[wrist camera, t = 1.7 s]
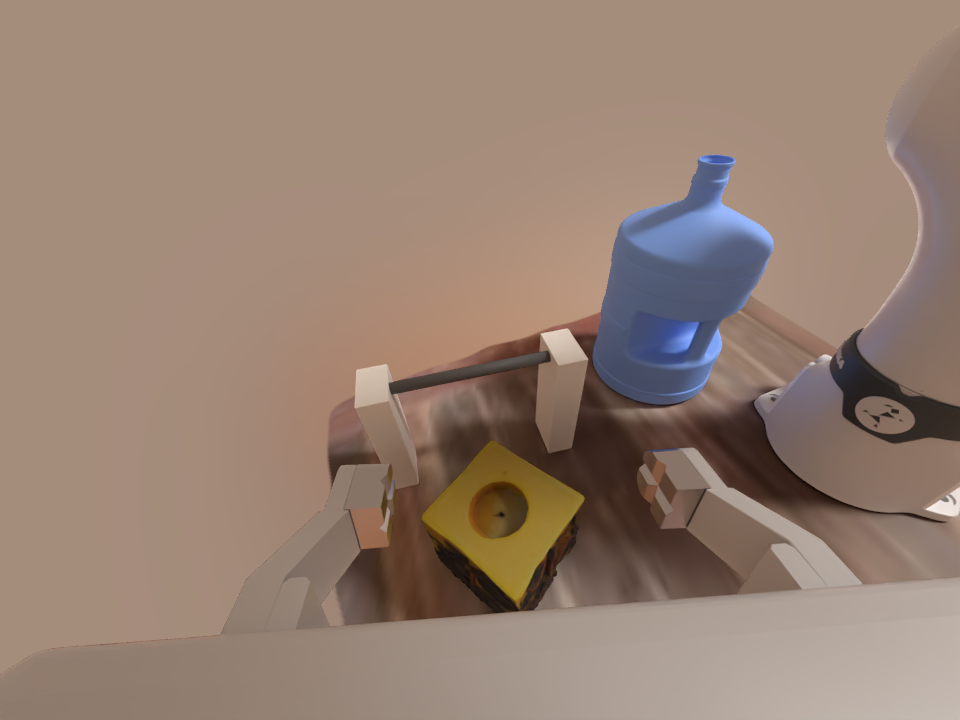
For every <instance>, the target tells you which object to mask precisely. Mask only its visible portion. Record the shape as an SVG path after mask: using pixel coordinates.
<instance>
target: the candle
mask: <svg viewBox="0 0 960 720" xmlns="http://www.w3.org/2000/svg"><path fill="white" fill-rule="evenodd" d="M584 500H585V498H584V496H583V495H582V494H580V493H579V492H577V491H575V490H574V489H572V488H570V487H568V486H567V485H565V484H563V483H562V482H560V481H558V480H557V479H555V478H553V477H552V476H550V475H548V474H546V473H545V472H543V471H541V470H540V469H538V468H536V467H535V466H533V465H531V464H530V463H528V462H527V461H525V460H524V459H522V458H520V457H519V456H517V455H516V454H514V453H512V452H511V451H509V450H508V449H506V448H505V447H503V446H502V445H501V444H499V443H497V442H495V441H493V440H491V441H490V442H489V443H488V444H487V445H486V446H485V447H484V448H483V449H482V450H481V451H480V452H479V453H478V455H477V456H476V457H475V458H474V459H473V460H472V462H471V463H470V464H469V465H468V466H467V467H466V469H465V470H464V471H463V472H462V473H461V474H460V475H459V476H458V477H457V478H456V479H455V480H454V481H453V482H452V484H451V485H450V486H448V487H447V488H446V489H445V490H444V491H443V492H442V494H441V495H440V496H439V497H438V498H437V499H436V500H435V501H434V502H433V503H432V504H431V505H430V506H429V508H428V509H427V510H426V511H425V512H424V513H423V515H422V521H423V524H424V526H425V528H426V530H427V532H428V534H429V535H430V537H431V538H432V541H433V543H434V545H435V550H436V553H437V555H438V558H439V559H440V560H441V562H443V563H444V564H445V565H446V566H447V567H448V568H449V569H451V570H452V572H453V574H454V575H455V576H456V577H457V578H460V579H461V580H462V582H463V583H464V584H466V585H467V587H468V588H470V590H471V591H473V592H474V594H475V595H476V596H477V597H479V598H480V599H481V601H482V602H485V603H486V604H487V605H488V606H489V607H491V608H492V609H493V610H494V611H495V613H508V612H521V611H533V610H534V609H535V608H536V607H537V606H538V603H539V602H540V601H541V600H542V598H543V596H544V594H545V592H546V590H547V589H548V588H549V586H550V585H551V583H552V582H553V577H555V576H556V575H557V571H556V566H557V564H558V563H559V562H560V561H561V560H562V559H563V558H564V556H566V555H567V554H568V553H570V550H571V549H572V548H573V546H574V544H575V543H576V535H577V531H578V526H577V522H576V517H577V512H578V511H579V510H580V508H581V506H582V504H583V502H584Z"/></svg>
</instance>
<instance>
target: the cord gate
mask: <svg viewBox="0 0 960 720" xmlns="http://www.w3.org/2000/svg"><path fill="white" fill-rule="evenodd" d="M538 364H539V370H538V386H537V403H536V420H535V422H536V424H537V427H538V429H539V431H540V434H541V436H542V439H543V441H544V443H545V446H546V448H547V451H548V453H553V452H557V451H561V450H565V449H569V448H572V444H573V439H574V434H575V428H576V423H577V418H578V412H579V407H580V402H581V396H582V391H583V386H584V380H585V375H586V370H587V364H588V358H587V357H586V355H585V353H584V352H583V350H582V349H581V347H580V346H579V344H578V343H577V341H576V340H575V338H574V337H573V335H572V334H571V332H570V331H569V329H568V328H567V329H562V330H557V331H552V332H547V333H542V334H541V336H540V352H537V353H532V354H527V355H523V356H518V357H513V358H508V359H503V360H498V361H493V362H488V363H483V364H478V365H473V366H468V367H463V368H458V369H454V370H449V371H444V372H439V373H434V374H429V375H424V376H419V377H414V378H409V379H404V380H399V381H394V382H393V380H392V377H391V374H390V371H389V369H388V366H387V364H385V365H380V366H374V367H369V368H364V369H359V370H356V391H355V410H356V412H357V414H358V416H359V418H360V420H361V422H362V425H363V427H364V429H365V431H366V433H367V435H368V437H369V439H370V441H371V443H372V445H373V448H374V450H375V452H376V454H377V456H378V458H379V460H380V462H381V464H392V469H393V475H392V480H393V481H395V486H396V489H401V488H405V487H409V486H413V485H417V484H419V476H418V466H417V457H416V448H415V445H414V442H413V439H412V436H411V433H410V430H409V427H408V424H407V422H406V419H405V416H404V413H403V410H402V407H401V404H400V401H399V398H398V395H397V394H398V393H403V392H407V391H412V390H417V389H422V388H427V387H432V386H436V385H441V384H446V383H451V382H456V381H461V380H465V379H470V378H475V377H480V376H485V375H490V374H494V373H499V372H504V371H509V370H514V369H519V368H523V367H528V366H533V365H538Z"/></svg>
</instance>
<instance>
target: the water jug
mask: <svg viewBox="0 0 960 720" xmlns="http://www.w3.org/2000/svg"><path fill="white" fill-rule="evenodd" d="M735 162H736V160H735V159H734V158H732V157H729V156H723V155H706V156H702V157H700V158H699V159H698V168H697V171H696V174H695V175H694V176H693V178H692V181H691V182H692V184H691V188H690V191H689V194H688V196H687V197H686V198H685V199H684V200H681V201H677V202H673V203H669V204H665V205H661V206H657V207H653V208H649V209H645V210H642V211H639V212H636V213H634V214H632V215H630V216H629V217H627V218H626V219H625V220H624V221H623V222H622V223H621V225H620V227H619V230H618V235H617V238H616V240H615V243H614V248H613V253H612V264H611V269H610V274H609V279H608V284H607V289H606V294H605V296H604V300H603V303H602V309H601V319H600V324H599V329H598V335H597V340H596V342H595V345H594V349H593V356H592V358H593V365H594V368H595V370H596V372H597V374H598V375H599V377H600V378H601V379H602V380H603V381H604V382H605V383H606V384H607V385H608V386H609V387H610V388H612V389H613V390H615V391H616V392H618V393H620V394H621V395H623V396H626V397H628V398H630V399H633V400H636V401H640V402H644V403H649V404H674V403H679V402H683V401H686V400H688V399H690V398H692V397H694V396H695V395H696V394H698V393H699V392H700V391H701V390H702V388H703V387H704V385H705V383H706V382H707V380H708V378H709V375H710V371H711V369H712V367H713V365H714V363H715V361H716V360H717V358H718V356H719V354H720V352H721V348H722V340H721V337H720V334H719V330H718V327H719V324H720V322H721V321H722V320H723V319H724V318H727V317H729V316H731V315H733V314H735V313H736V312H738V311H739V310H741V309H742V308H743V307H744V305H745V304H746V302H747V300H748V298H749V296H750V294H751V292H752V290H753V289H754V288H755V287H756V285H757V283H758V282H759V280H760V278H761V276H762V275H763V273H764V271H765V269H766V266H767V264H768V259H769V257H770V255H771V254H772V251H773V240H772V237H771V236H770V234H769V233H768V232H767V231H766V230H765V229H764V228H763V227H762V226H760V225H759V224H757V223H756V222H754V221H752V220H750V219H748V218H747V217H745V216H743V215H741V214H739V213H738V212H736V211H734V210H732V209H730V208H728V207H726V206H725V205H723V204H722V203H721V196H722V193H723V191H724V188H725V186H726V185H727V183H728V180H729V177H728V175H729V172H730V170H731V167H732V166H733V165H734V164H735Z"/></svg>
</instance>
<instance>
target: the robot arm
mask: <svg viewBox="0 0 960 720" xmlns="http://www.w3.org/2000/svg"><path fill="white" fill-rule="evenodd" d="M885 137H886V146H887V149H888V152H889V155H890V157H891V159H892V161H893V162H894V163H895V165H896V166H897V167H898V168H899V170H900V171H901V172H902V173H903V175H904V176H905V178H906V179H907V181H908V183H909V185H910V187H911V190H912V192H913V194H914V197H915V201H916V205H917V209H918V220H919V230H918V238H917V244H916V248H915V251H914V254H913V257H912V259H911V261H910V264H909V266H908V268H907V270H906V271H905V273H904V275H903V276H902V278H901V279H900V281H899V282H898V284H897V285H896V287H895V288H894V290H893V291H892V293H891V294H890V296H889V297H888V298H887V300H886V301H885V303H884V304H883V305H882V307H881V308H880V309H879V311H878V312H877V313H876V314H875V316H874V317H873V318H872V319H871V321H870V322H869V323H868V324H867V326H866V327H865V328H862V329H860V330H858V331H856V332H855V333H853V335H852V336H851V337H850V338H849V339H847V341H844V343H843V344H842V345H841V346H840V347H839V349H838V350H837V353H836V354H835V355H834V356H833V358H832V357H830V356H828V355H822V356H821V357H819V358H818V359H817V360H816V361H815V362H811V363H809V364H808V365H806V366H805V367H804V368H803V369H802V370H801V371H800V372H799V373H798V375H797V376H796V377H795V378H794V379H793V380H792V382H791V383H790V384H787V385H785V386H783V387H780V388H778V389H775V390H773V391H771V392H768V393H766V394H763V395H761V396H759V397H758V398H757V399H756V400H755V402H754V405H755V407H756V409H757V411H758V412H759V414H760V415H761V417H762V418H763V419H764V422H765V425H766V432H767V436H768V439H769V442H770V444H771V446H772V448H773V449H774V451H775V452H776V454H777V455H778V456H779V458H780V459H781V460H782V461H783V462H784V463H785V464H786V465H787V466H788V467H789V468H790V469H791V470H792V471H793V472H794V473H795V474H796V475H798V476H799V477H800V478H801V479H803V480H804V481H806V482H807V483H808V484H810V485H811V486H813V487H814V488H816V489H818V490H819V491H821V492H823V493H825V494H827V495H829V496H831V497H833V498H835V499H837V500H839V501H842V502H844V503H847V504H850V505H853V506H856V507H859V508H863V509H867V510H871V511H877V512H889V513H894V512H905V513H914V514H917V515H920V516H924V517H927V518H930V519H934V520H939V521H945V522H948V521H951V520H953V519H954V518H955V517H957V516H958V515H959V511H960V24H959V25H958V26H956V27H955V28H954V29H952V30H951V31H950V32H949V33H948V34H947V35H946V36H945V37H943V38H942V39H941V40H940V41H939V42H937V43H936V45H935V46H933V48H932V49H930V50H929V52H928V53H927V54H926V55H925V56H924V57H923V58H922V59H921V60H920V61H919V62H918V64H917V65H916V66H915V67H914V68H913V70H912V71H911V72H910V74H909V75H908V76H907V78H906V79H905V81H904V82H903V84H902V86H901V87H900V89H899V91H898V93H897V94H896V96H895V98H894V100H893V103H892V106H891V108H890V111H889V114H888V118H887V123H886V133H885ZM642 459H643V461H644V463H645V464H644V465H642V466H641V467H640V468H639V470H638V474H637V484H638V488H639V491H640V493H641V495H642V497H643V498H644V499H646V500H647V501H648V502H650V503H651V507H650V511H651V513H652V515H653V517H654V519H655V520H656V522H657V524H658V526H659V528H660V529H671V528H687V530H688V531H689V532H690V533H691V534H693V535H694V536H695V537H696V538H697V539H699V540H700V541H701V542H702V543H703V544H704V545H706V546H707V547H708V548H709V549H710V550H711V551H713V552H714V553H715V554H716V555H717V556H718V557H720V558H721V559H722V560H723V561H724V562H725V563H727V564H728V565H729V566H730V567H731V568H732V569H734V570H735V571H736V572H737V573H738V574H739V575H741V576H742V577H743V578H744V579H745V580H746V581H745V582H744V583H743V585H742V586H741V588H740V589H739V590H738V593H737V594H736V595H724V596H711V597H698V598H686V599H673V600H660V601H647V602H634V603H622V604H609V605H596V606H583V607H571V608H558V609H546V610H533V611H521V612H508V613H495V614H483V615H470V616H458V617H445V618H432V619H420V620H407V621H394V622H382V623H369V624H357V625H344V626H332V627H330V625H329V623H328V621H327V618H326V616H325V614H324V612H323V609H322V607H321V604H322V602H323V601H324V599H325V598H326V597H327V595H328V594H329V593H330V591H331V590H332V589H333V587H334V586H335V585H336V583H337V582H338V581H339V579H340V578H341V577H342V575H343V574H344V573H345V571H346V570H347V569H348V567H349V566H350V564H351V563H352V562H353V560H354V559H355V558H356V556H357V555H358V554H359V552H360V549H369V548H380V547H389V546H390V539H391V533H392V520H391V516H392V515H393V514H394V513H395V505H396V486H395V481H393V480H392V475H393V469H392V464H358V465H341V466H340V468H339V469H338V471H337V474H336V477H335V480H334V483H333V486H332V489H331V492H330V495H329V498H328V501H327V504H326V506H325V509H324V512H318V513H317V514H316V515H315V516H314V517H313V518H312V519H311V520H309V521H308V522H307V523H306V524H305V525H304V526H303V527H302V528H301V529H300V530H299V531H298V532H297V533H296V534H294V535H293V536H292V537H291V538H290V539H289V540H288V541H287V542H286V543H285V544H284V545H283V546H282V547H280V548H279V549H278V550H277V551H276V552H275V553H274V554H273V555H272V556H271V557H270V558H269V559H268V560H266V561H265V562H264V563H263V564H262V565H261V566H260V567H259V568H258V569H257V570H256V571H255V572H254V573H252V574H251V576H249V577H248V578H247V579H246V581H245V583H244V585H243V587H242V590H241V592H240V594H239V596H238V598H237V600H236V602H235V604H234V607H233V609H232V611H231V613H230V615H229V618H228V620H227V622H226V624H225V626H224V628H223V630H222V632H221V634H220V635H217V636H204V637H191V638H179V639H165V640H152V641H141V642H127V643H114V644H101V645H87V646H74V647H61V648H53V649H48V650H44V651H41V652H38V653H35V654H33V655H31V656H29V657H27V658H26V659H24V660H22V661H21V662H19V663H17V664H16V665H14V666H12V667H11V668H9V669H8V670H6V671H4V672H3V673H1V674H0V720H960V577H950V578H938V579H925V580H913V581H900V582H887V583H875V584H862V583H861V582H860V580H859V579H858V578H857V577H856V576H855V575H854V574H853V573H852V572H851V571H850V570H849V569H848V568H847V566H846V565H845V564H844V563H843V562H842V561H841V560H840V559H839V558H838V557H837V556H836V555H835V554H834V553H833V551H832V550H831V549H830V548H829V547H828V546H827V545H826V544H825V543H824V542H823V541H822V540H821V539H819V538H818V537H816V536H814V535H813V534H811V533H809V532H807V531H806V530H804V529H802V528H801V527H799V526H797V525H795V524H794V523H792V522H790V521H789V520H787V519H785V518H783V517H782V516H780V515H778V514H777V513H775V512H773V511H771V510H770V509H768V508H766V507H765V506H763V505H761V504H760V503H758V502H756V501H754V500H753V499H751V498H749V497H748V496H746V495H744V494H742V493H741V492H739V491H737V490H736V489H734V488H728V487H727V486H726V485H725V484H724V483H723V481H722V480H721V479H720V478H719V476H718V475H717V474H716V473H715V471H714V470H713V469H712V468H711V466H710V465H709V464H708V463H707V462H706V460H705V459H704V458H703V457H702V455H701V454H700V453H699V452H698V451H697V450H696V449H695V448H678V449H660V450H647V451H646V452H645V453H644V455H643V458H642Z"/></svg>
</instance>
